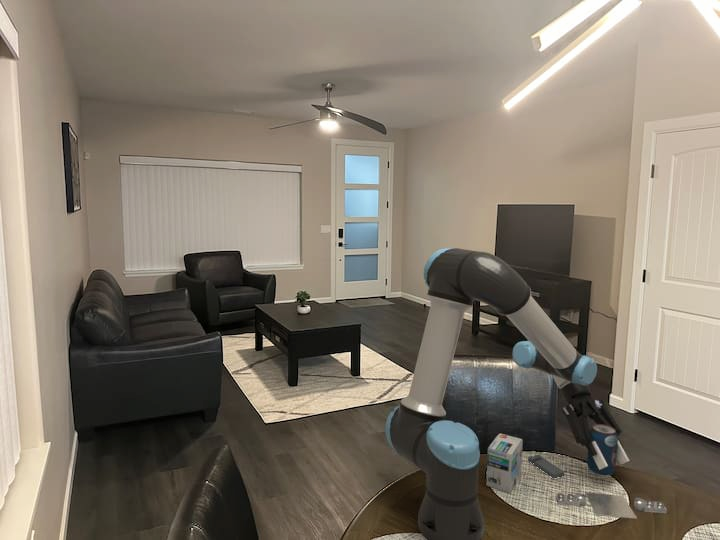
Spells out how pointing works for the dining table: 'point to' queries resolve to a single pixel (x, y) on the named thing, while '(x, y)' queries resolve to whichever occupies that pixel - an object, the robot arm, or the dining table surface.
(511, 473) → the light bulb box
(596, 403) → the robot arm
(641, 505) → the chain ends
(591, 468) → the soda can
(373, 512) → the dining table surface
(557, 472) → the bracket
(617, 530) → the dining table surface
